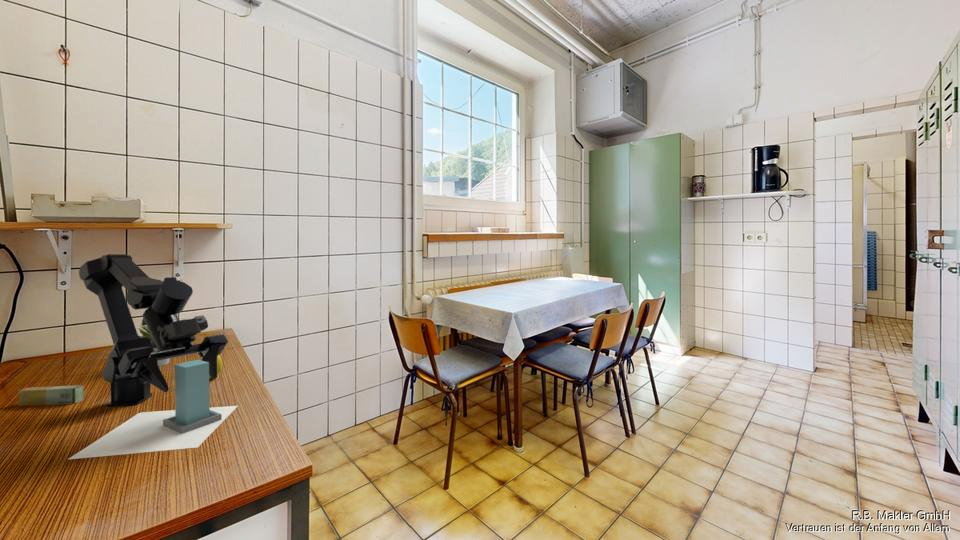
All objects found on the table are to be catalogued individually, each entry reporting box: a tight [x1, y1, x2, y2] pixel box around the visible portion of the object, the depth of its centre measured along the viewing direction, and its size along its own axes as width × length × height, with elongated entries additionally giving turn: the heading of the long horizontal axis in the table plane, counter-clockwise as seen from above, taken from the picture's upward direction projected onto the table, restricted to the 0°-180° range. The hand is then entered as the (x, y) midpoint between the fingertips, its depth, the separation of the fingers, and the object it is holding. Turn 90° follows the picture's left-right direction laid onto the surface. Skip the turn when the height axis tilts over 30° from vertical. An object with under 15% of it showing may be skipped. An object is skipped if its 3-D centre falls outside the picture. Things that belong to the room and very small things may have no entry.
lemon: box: [209, 354, 224, 379], centre depth 112 cm, size 6×6×8 cm
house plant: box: [134, 318, 186, 367], centre depth 126 cm, size 14×14×16 cm
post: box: [174, 359, 210, 426], centre depth 81 cm, size 4×4×13 cm
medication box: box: [18, 384, 84, 407], centre depth 93 cm, size 12×3×4 cm, turn 100°
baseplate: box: [67, 405, 238, 460], centre depth 79 cm, size 20×20×1 cm
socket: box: [163, 410, 222, 434], centre depth 81 cm, size 8×8×1 cm
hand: (192, 384), depth 81 cm, fingers open, 9 cm apart
